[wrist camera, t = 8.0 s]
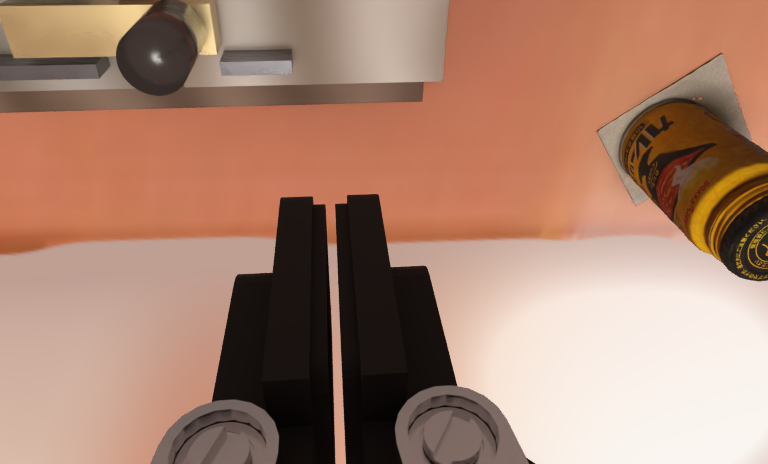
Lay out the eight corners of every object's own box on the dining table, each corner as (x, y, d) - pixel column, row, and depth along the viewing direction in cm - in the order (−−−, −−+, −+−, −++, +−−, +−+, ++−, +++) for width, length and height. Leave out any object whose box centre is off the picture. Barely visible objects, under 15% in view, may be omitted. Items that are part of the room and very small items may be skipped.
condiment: (595, 130, 37) (698, 235, 27) (720, 52, 35) (882, 136, 25) (634, 204, 41) (736, 320, 31) (749, 137, 39) (898, 239, 29)
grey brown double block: (430, -149, 27) (459, -145, 22) (418, 92, 34) (438, 138, 29) (-157, -158, 25) (-284, -157, 19) (-43, 103, 32) (-114, 157, 26)
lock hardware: (286, -31, 24) (284, -23, 22) (293, 62, 26) (292, 74, 24) (-72, -29, 22) (-96, -21, 21) (-32, 69, 24) (-51, 81, 23)
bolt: (213, -10, 24) (191, 26, 19) (222, 48, 25) (203, 94, 20) (10, -9, 23) (-64, 29, 18) (30, 51, 24) (-34, 100, 20)
